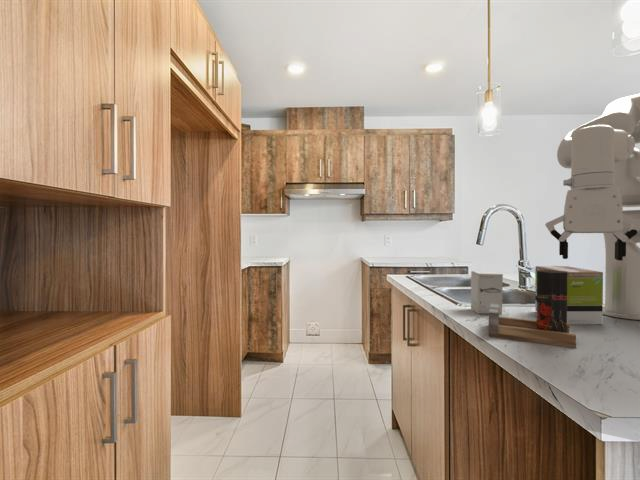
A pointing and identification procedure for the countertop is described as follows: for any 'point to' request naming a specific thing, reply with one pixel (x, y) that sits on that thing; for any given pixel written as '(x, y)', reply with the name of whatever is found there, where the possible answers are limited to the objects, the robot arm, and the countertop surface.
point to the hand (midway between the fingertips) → (590, 259)
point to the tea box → (580, 294)
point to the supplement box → (486, 291)
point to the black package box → (552, 300)
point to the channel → (526, 330)
